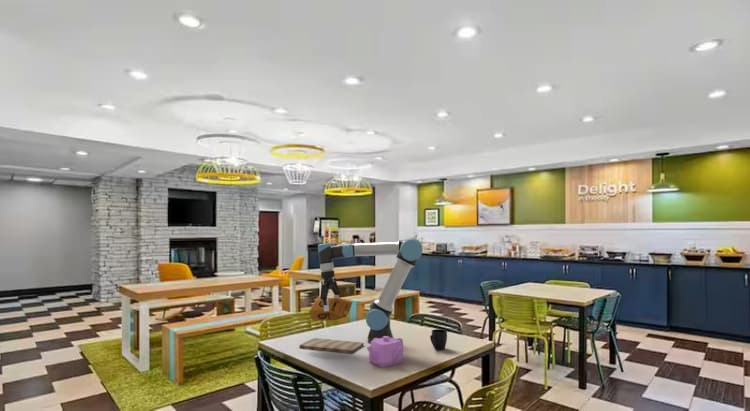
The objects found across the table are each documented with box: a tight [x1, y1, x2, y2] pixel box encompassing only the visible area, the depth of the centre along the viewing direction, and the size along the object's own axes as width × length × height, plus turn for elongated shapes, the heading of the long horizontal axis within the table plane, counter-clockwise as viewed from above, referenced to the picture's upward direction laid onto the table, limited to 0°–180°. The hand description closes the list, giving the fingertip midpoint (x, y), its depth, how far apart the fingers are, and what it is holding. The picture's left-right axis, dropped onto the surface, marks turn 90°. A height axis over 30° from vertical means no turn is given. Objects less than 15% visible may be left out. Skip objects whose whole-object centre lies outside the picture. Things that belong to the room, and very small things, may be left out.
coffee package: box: [308, 296, 353, 322], centre depth 227 cm, size 10×12×22 cm
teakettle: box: [366, 336, 404, 368], centre depth 200 cm, size 17×17×12 cm
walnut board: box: [299, 337, 365, 355], centre depth 227 cm, size 32×16×2 cm, turn 68°
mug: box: [429, 328, 448, 351], centre depth 219 cm, size 8×12×10 cm
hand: (332, 308), depth 227 cm, fingers closed on coffee package, 13 cm apart
